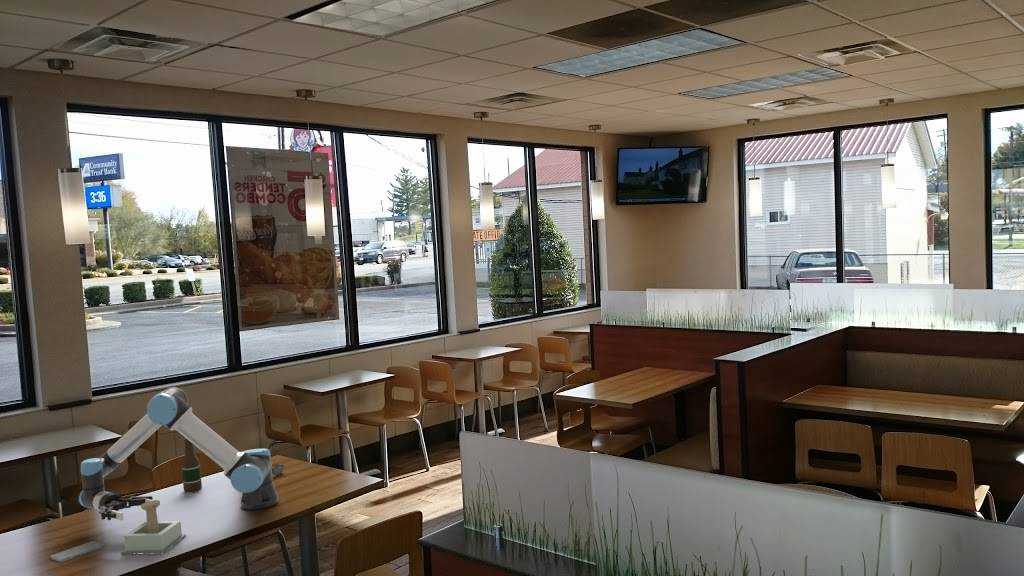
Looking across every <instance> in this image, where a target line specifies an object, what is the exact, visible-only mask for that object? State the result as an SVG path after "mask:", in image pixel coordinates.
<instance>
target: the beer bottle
mask: <svg viewBox="0 0 1024 576" xmlns="http://www.w3.org/2000/svg"><path fill="white" fill-rule="evenodd" d="M183 442H184V457H183V459H182V462H181V474H182V475H181V476H182V485H183V491H185V492H184V493H186V492H192V493H196V492H195V491H197V492H199V491H198V490H200V491H201V490H202V488H203V485H202V473H201V464H200V463H201V462H200V459H199V457H198V456H197V455H196V454H195V449H194V448H195V447H194V444H193V443H191V442H190V441H189V440H188V439H187V438H185V437H184V439H183Z"/></svg>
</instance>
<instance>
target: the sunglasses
mask: <svg viewBox="0 0 1024 576" xmlns="http://www.w3.org/2000/svg"><path fill="white" fill-rule="evenodd" d="M271 469H272V476H275V477H278V476H280V475H282V474H283V470H284V464H281V463H274V464H271Z"/></svg>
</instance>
